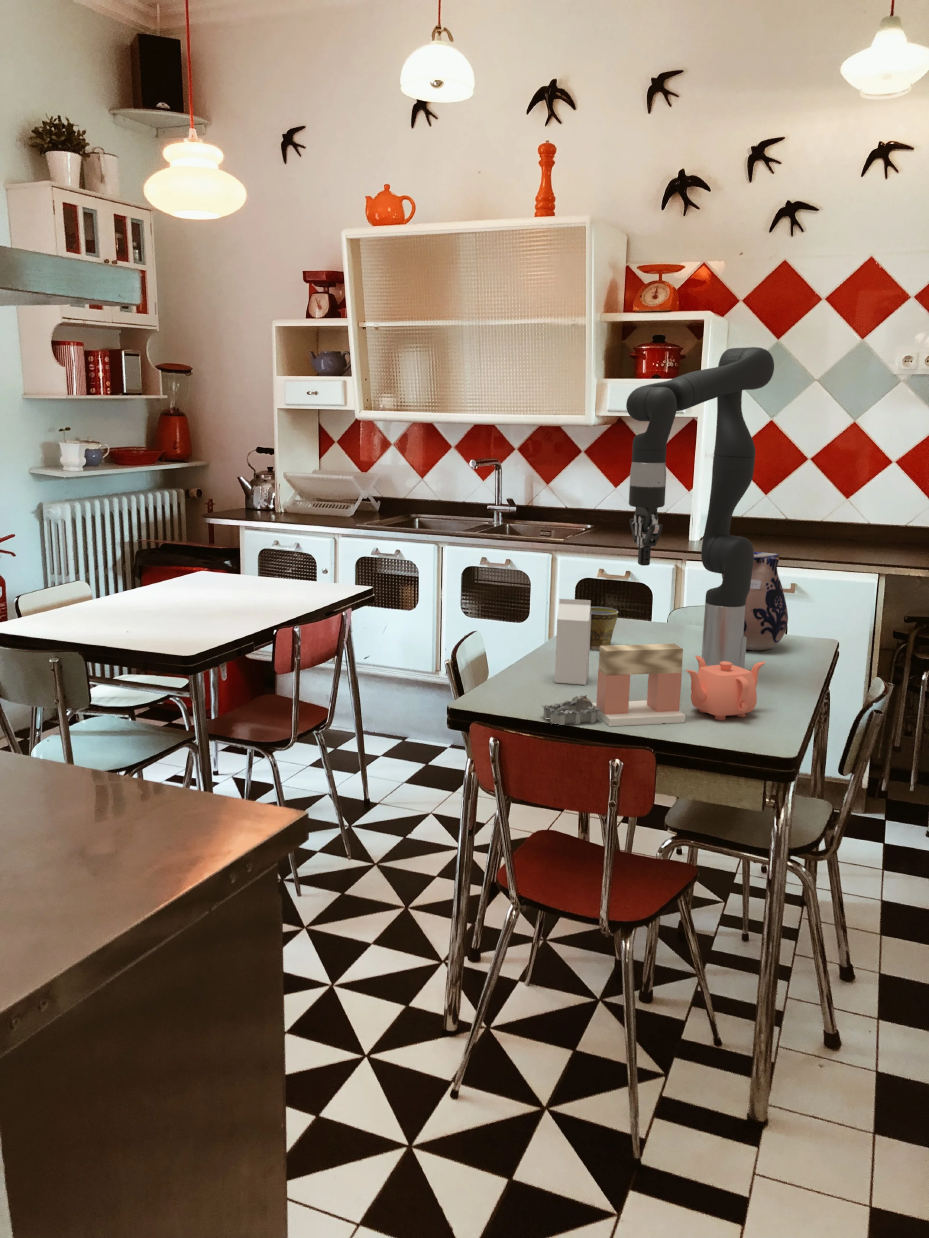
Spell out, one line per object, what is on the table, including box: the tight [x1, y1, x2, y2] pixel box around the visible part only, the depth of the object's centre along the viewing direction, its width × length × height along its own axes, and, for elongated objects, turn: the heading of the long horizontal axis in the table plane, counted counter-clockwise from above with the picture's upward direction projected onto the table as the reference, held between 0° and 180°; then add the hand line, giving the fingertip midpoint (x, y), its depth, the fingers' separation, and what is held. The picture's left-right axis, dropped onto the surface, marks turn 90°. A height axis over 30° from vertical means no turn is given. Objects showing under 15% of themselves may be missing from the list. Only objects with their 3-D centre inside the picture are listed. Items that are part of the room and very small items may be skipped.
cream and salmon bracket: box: [591, 668, 686, 727], centre depth 200 cm, size 16×11×10 cm
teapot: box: [685, 655, 766, 721], centre depth 203 cm, size 14×14×11 cm
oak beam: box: [598, 643, 684, 676], centre depth 198 cm, size 16×4×5 cm, turn 101°
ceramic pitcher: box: [721, 551, 789, 651], centre depth 261 cm, size 18×21×25 cm
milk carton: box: [554, 598, 592, 686], centre depth 225 cm, size 7×7×19 cm
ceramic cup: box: [590, 606, 619, 651], centre depth 259 cm, size 13×10×10 cm
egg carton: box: [541, 694, 601, 726], centre depth 198 cm, size 11×8×4 cm
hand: (643, 564), depth 211 cm, fingers closed
